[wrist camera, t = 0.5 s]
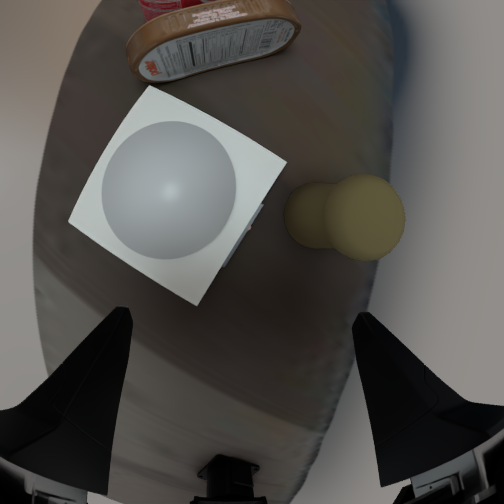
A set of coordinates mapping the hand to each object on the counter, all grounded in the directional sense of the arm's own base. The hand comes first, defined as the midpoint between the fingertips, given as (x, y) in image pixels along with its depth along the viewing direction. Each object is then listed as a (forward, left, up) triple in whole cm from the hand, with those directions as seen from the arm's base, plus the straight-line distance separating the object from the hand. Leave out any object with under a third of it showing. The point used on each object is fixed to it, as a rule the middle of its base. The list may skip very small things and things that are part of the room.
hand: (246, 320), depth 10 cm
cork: (+7, -4, -15) cm, 17 cm away
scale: (+2, +8, -14) cm, 17 cm away
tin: (+15, +12, -15) cm, 24 cm away
